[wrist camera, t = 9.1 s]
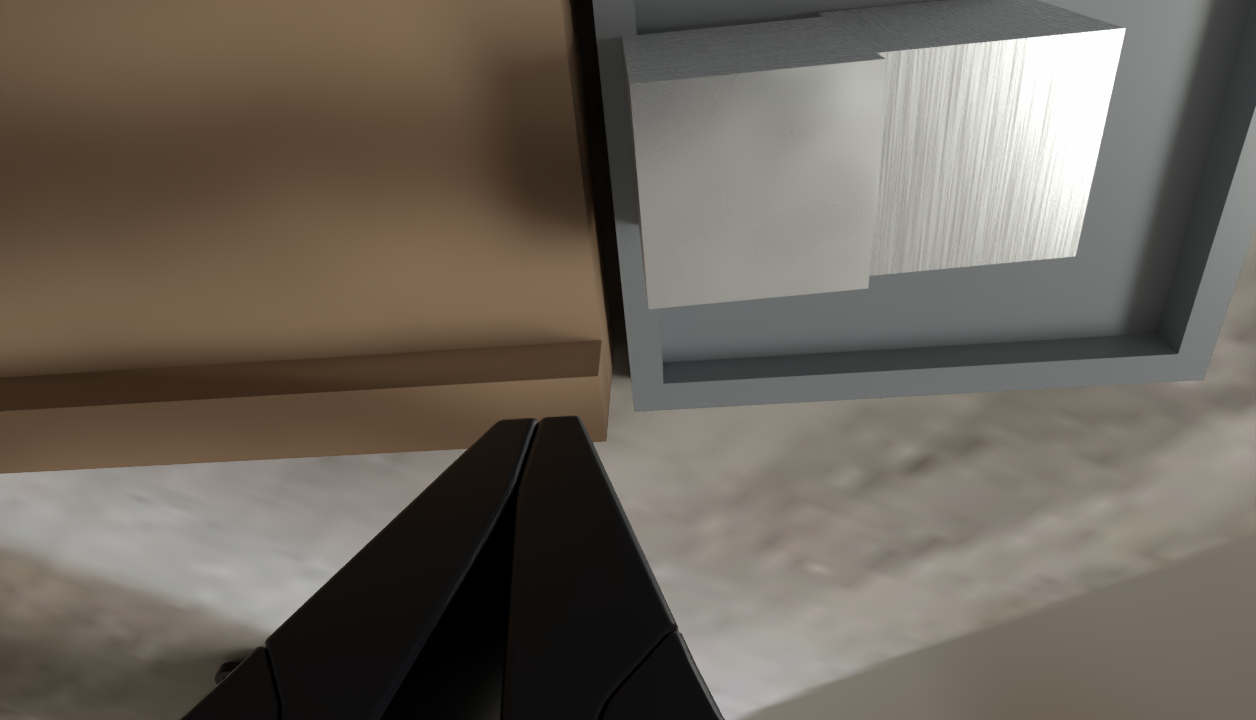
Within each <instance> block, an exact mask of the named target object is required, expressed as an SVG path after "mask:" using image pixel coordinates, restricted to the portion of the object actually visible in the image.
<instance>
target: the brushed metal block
mask: <svg viewBox="0 0 1256 720" xmlns="http://www.w3.org/2000/svg"><path fill="white" fill-rule="evenodd" d="M622 45H623V56H624V68H625V79H626V91H627V102H628V114H629V125H630V137H631V148H632V160H633V171H634V183H635V195H636V206H637V218H638V228H639V236H640V244H641V252H642V260H643V268H644V277H645V285H646V293H647V301H648V309H658V308H669V307H679V306H690V305H700V304H711V303H721V302H732V301H742V300H753V299H763V298H774V297H784V296H795V295H805V294H816V293H826V292H837V291H847V290H858V289H868V287H869V274H870V260H871V247H872V234H873V220H874V207H875V194H876V180H877V167H878V154H879V140H880V127H881V114H882V100H883V87H884V74H885V60H886V59H885V58H884V57H882V56H881V55H879V54H878V53H876V52H875V51H873V50H872V49H870V48H869V47H868V46H866V45H865V44H863V43H862V42H860V41H859V40H857V39H856V38H854V37H853V36H852V35H850V34H849V33H847V32H846V31H844V30H843V29H841V28H840V27H838V26H837V25H835V24H834V23H833V22H831V21H830V20H828V19H827V18H825V17H824V16H823V17H813V18H803V19H793V20H783V21H773V22H763V23H753V24H743V25H733V26H723V27H713V28H703V29H693V30H683V31H673V32H663V33H653V34H643V35H633V36H623V37H622Z"/></svg>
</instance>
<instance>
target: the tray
mask: <svg viewBox="0 0 1256 720" xmlns="http://www.w3.org/2000/svg"><path fill="white" fill-rule="evenodd" d="M592 1H593V11H594V21H595V31H596V41H597V50H598V60H599V70H600V80H601V89H602V99H603V109H604V119H605V129H606V138H607V148H608V158H609V168H610V177H611V187H612V197H613V207H614V217H615V226H616V236H617V246H618V256H619V265H620V275H621V285H622V295H623V305H624V314H625V324H626V334H627V344H628V353H629V363H630V373H631V383H632V392H633V402H634V412H636V411H654V410H672V409H690V408H708V407H726V406H743V405H761V404H779V403H797V402H815V401H833V400H851V399H869V398H887V397H905V396H923V395H941V394H959V393H977V392H995V391H1013V390H1031V389H1049V388H1067V387H1085V386H1102V385H1120V384H1138V383H1156V382H1174V381H1192V380H1204V377H1205V374H1206V371H1207V368H1208V365H1209V362H1210V359H1211V356H1212V353H1213V350H1214V348H1215V345H1216V342H1217V339H1218V336H1219V333H1220V330H1221V327H1222V324H1223V321H1224V318H1225V315H1226V312H1227V309H1228V306H1229V303H1230V300H1231V297H1232V294H1233V291H1234V288H1235V285H1236V282H1237V280H1238V277H1239V274H1240V271H1241V268H1242V265H1243V262H1244V259H1245V256H1246V253H1247V250H1248V247H1249V244H1250V241H1251V238H1252V235H1253V232H1254V229H1255V226H1256V0H1039V1H1042V2H1045V3H1048V4H1052V5H1055V6H1058V7H1061V8H1064V9H1067V10H1070V11H1073V12H1077V13H1080V14H1083V15H1086V16H1089V17H1092V18H1095V19H1099V20H1102V21H1105V22H1108V23H1111V24H1114V25H1117V26H1120V27H1124V28H1126V29H1125V33H1124V38H1123V43H1122V47H1121V52H1120V56H1119V61H1118V65H1117V70H1116V75H1115V79H1114V84H1113V88H1112V93H1111V97H1110V102H1109V107H1108V111H1107V116H1106V120H1105V125H1104V129H1103V134H1102V139H1101V143H1100V148H1099V152H1098V157H1097V161H1096V166H1095V171H1094V175H1093V180H1092V184H1091V189H1090V193H1089V198H1088V203H1087V207H1086V212H1085V216H1084V221H1083V225H1082V230H1081V235H1080V239H1079V244H1078V248H1077V253H1076V256H1074V257H1064V258H1053V259H1043V260H1032V261H1022V262H1011V263H1001V264H990V265H979V266H969V267H958V268H948V269H937V270H927V271H916V272H906V273H895V274H885V275H874V276H869V287H868V289H858V290H847V291H837V292H826V293H816V294H805V295H795V296H784V297H774V298H763V299H753V300H742V301H732V302H721V303H711V304H700V305H690V306H679V307H669V308H658V309H648V301H647V293H646V285H645V277H644V268H643V260H642V252H641V244H640V236H639V228H638V218H637V206H636V195H635V183H634V171H633V160H632V148H631V137H630V125H629V114H628V102H627V91H626V79H625V68H624V56H623V45H622V37H623V36H633V35H643V34H653V33H663V32H673V31H683V30H693V29H703V28H713V27H723V26H733V25H743V24H753V23H763V22H773V21H783V20H793V19H803V18H813V17H818V13H821V12H831V11H841V10H851V9H861V8H871V7H881V6H891V5H901V4H911V3H921V2H931V1H941V0H592Z"/></svg>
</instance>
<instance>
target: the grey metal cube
mask: <svg viewBox="0 0 1256 720" xmlns="http://www.w3.org/2000/svg"><path fill="white" fill-rule="evenodd" d="M823 16H824V17H825V18H827V19H828V20H830V21H831V22H833V23H834V24H835V25H837V26H838V27H840V28H841V29H843V30H844V31H846V32H847V33H849V34H850V35H852V36H853V37H854V38H856V39H857V40H859V41H860V42H862V43H863V44H865V45H866V46H868V47H869V48H870V49H872V50H873V51H875V52H876V53H878V54H879V55H881V56H882V57H884V58H885V59H886V60H885V74H884V87H883V100H882V114H881V127H880V140H879V154H878V167H877V180H876V194H875V207H874V220H873V234H872V247H871V260H870V274H869V276H874V275H885V274H895V273H906V272H916V271H927V270H937V269H948V268H958V267H969V266H979V265H990V264H1001V263H1011V262H1022V261H1032V260H1043V259H1053V258H1064V257H1074V256H1076V253H1077V248H1078V244H1079V239H1080V235H1081V230H1082V225H1083V221H1084V216H1085V212H1086V207H1087V203H1088V198H1089V193H1090V189H1091V184H1092V180H1093V175H1094V171H1095V166H1096V161H1097V157H1098V152H1099V148H1100V143H1101V139H1102V134H1103V129H1104V125H1105V120H1106V116H1107V111H1108V107H1109V102H1110V97H1111V93H1112V88H1113V84H1114V79H1115V75H1116V70H1117V65H1118V61H1119V56H1120V52H1121V47H1122V43H1123V38H1124V33H1125V29H1126V28H1124V27H1120V26H1117V25H1114V24H1111V23H1108V22H1105V21H1102V20H1099V19H1095V18H1092V17H1089V16H1086V15H1083V14H1080V13H1077V12H1073V11H1070V10H1067V9H1064V8H1061V7H1058V6H1055V5H1052V4H1048V3H1045V2H1042V1H1039V0H941V1H931V2H921V3H911V4H901V5H891V6H881V7H871V8H861V9H851V10H841V11H831V12H821V13H818V17H823Z"/></svg>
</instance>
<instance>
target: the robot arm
mask: <svg viewBox="0 0 1256 720" xmlns="http://www.w3.org/2000/svg"><path fill="white" fill-rule="evenodd" d="M265 646H266V648H264V647H258V648H256V649H255V650H254V651H253V652H252V653H251V654H250V655H249V656H248V657H247V658H246V659H245V660H244V661H243V662H229V663H224V664H223V665H221V667H220V669H219V671H218V673H217V674H216V677H215V681H216V683H217V686H216V687H215V688H214V689H212V690H211V691H210V692H209V693H208V694H207V695H206V696H205V697H204V698H203V699H201V700H200V701H199V702H198V703H197V704H196V705H195V706H194V707H193V708H191V709H190V710H189V711H188V712H187V713H186V714H185V715H184V716H183V717H182V718H180V719H179V720H725V719H724V718H723V716H722V714H721V712H720V710H719V708H718V707H717V705H716V703H715V701H714V699H713V697H712V695H711V693H710V691H709V689H708V687H707V685H706V683H705V681H704V679H703V677H702V675H701V674H700V672H699V670H698V668H697V666H696V664H695V662H694V659H693V657H692V655H691V653H690V651H689V649H688V647H687V644H686V642H685V640H684V638H683V636H682V634H681V633H680V632H678V626H677V624H676V622H675V620H674V617H673V615H672V613H671V611H670V609H669V607H668V605H667V602H666V600H665V598H664V596H663V594H662V592H661V589H660V587H659V585H658V583H657V581H656V579H655V576H654V574H653V572H652V570H651V568H650V566H649V564H648V561H647V559H646V557H645V555H644V553H643V551H642V548H641V546H640V544H639V542H638V540H637V538H636V535H635V533H634V531H633V529H632V527H631V525H630V523H629V520H628V518H627V516H626V514H625V512H624V510H623V507H622V505H621V503H620V501H619V499H618V497H617V494H616V492H615V490H614V488H613V486H612V484H611V482H610V479H609V477H608V475H607V473H606V471H605V469H604V466H603V464H602V462H601V460H600V458H599V456H598V453H597V451H596V449H595V447H594V445H593V443H592V441H591V438H590V436H589V434H588V432H587V430H586V428H585V425H584V423H583V421H582V419H581V418H580V417H578V416H575V415H572V416H555V417H545V418H543V419H541V420H540V422H539V421H538V420H537V419H535V418H519V419H503V420H499V421H498V422H496V423H495V424H494V425H493V426H492V427H491V428H490V429H489V430H487V431H486V432H485V433H484V434H483V435H482V436H481V437H480V438H479V439H478V440H477V441H476V442H475V443H474V444H473V445H472V446H471V447H469V448H468V449H467V450H466V451H465V452H464V453H463V454H462V455H461V456H460V457H459V458H458V459H457V460H456V461H455V462H454V463H453V464H452V465H450V466H449V467H448V468H447V469H446V470H445V471H444V472H443V473H442V474H441V475H440V476H439V477H438V478H437V479H436V480H435V481H434V482H432V483H431V484H430V485H429V486H428V487H427V488H426V489H425V490H424V491H423V492H422V493H421V494H420V495H419V496H418V497H417V498H416V499H414V500H413V501H412V502H411V503H410V504H409V505H408V506H407V507H406V508H405V509H404V510H403V511H402V512H401V513H400V514H399V515H398V516H396V517H395V518H394V519H393V520H392V521H391V522H390V523H389V524H388V525H387V526H386V527H385V528H384V529H383V530H382V531H381V532H380V533H378V534H377V535H376V536H375V537H374V538H373V539H372V540H371V541H370V542H369V543H368V544H367V545H366V546H365V547H364V548H363V549H362V550H360V551H359V552H358V553H357V554H356V555H355V556H354V557H353V558H352V559H351V560H350V561H349V562H348V563H347V564H346V565H345V566H344V567H343V568H341V569H340V570H339V571H338V572H337V573H336V574H335V575H334V576H333V577H332V578H331V579H330V580H329V581H328V582H327V583H326V584H325V585H323V586H322V587H321V588H320V589H319V590H318V591H317V592H316V593H315V594H314V595H313V596H312V597H311V598H310V599H309V600H308V601H307V602H305V603H304V604H303V605H302V606H301V607H300V608H299V609H298V610H297V611H296V612H295V613H294V614H293V615H292V616H291V617H290V618H289V619H287V620H286V621H285V622H284V623H283V624H282V625H281V626H280V627H279V628H278V629H277V630H276V631H275V632H274V633H273V634H272V635H271V636H269V637H268V638H267V640H266V642H265Z"/></svg>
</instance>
